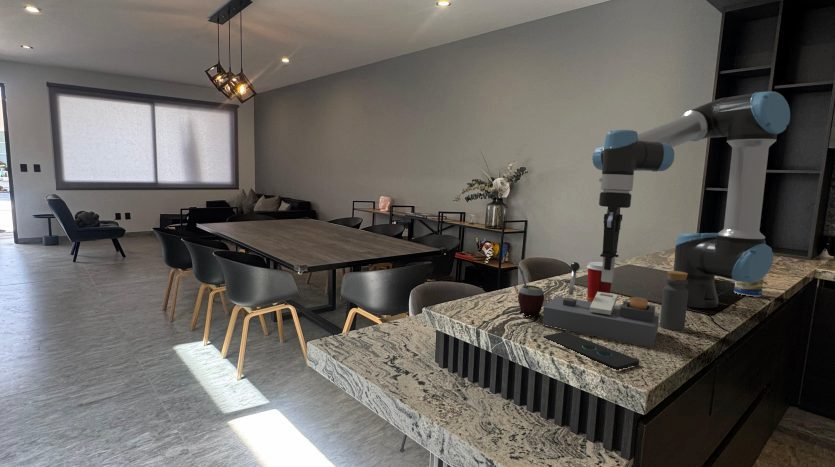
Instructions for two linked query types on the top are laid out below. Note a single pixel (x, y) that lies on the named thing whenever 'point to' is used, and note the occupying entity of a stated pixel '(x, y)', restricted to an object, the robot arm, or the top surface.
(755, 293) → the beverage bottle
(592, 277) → the paper cup
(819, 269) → the top surface
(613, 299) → the plate
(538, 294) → the mate gourd
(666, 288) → the bottle
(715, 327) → the top surface
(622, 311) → the console
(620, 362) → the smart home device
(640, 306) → the push button
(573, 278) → the toggle lever
